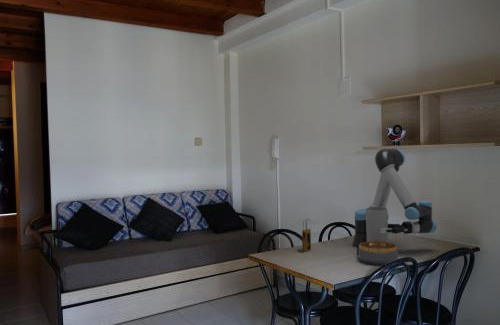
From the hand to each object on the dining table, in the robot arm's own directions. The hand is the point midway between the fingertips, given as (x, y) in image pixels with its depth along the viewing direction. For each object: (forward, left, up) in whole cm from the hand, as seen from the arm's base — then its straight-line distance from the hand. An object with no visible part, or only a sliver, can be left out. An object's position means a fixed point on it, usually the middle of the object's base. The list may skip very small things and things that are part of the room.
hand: (376, 228), depth 265 cm
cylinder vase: (0, +1, -13) cm, 13 cm away
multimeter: (-34, -31, -15) cm, 48 cm away
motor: (+12, -13, -15) cm, 23 cm away
